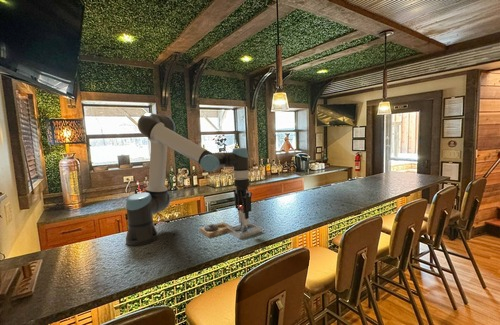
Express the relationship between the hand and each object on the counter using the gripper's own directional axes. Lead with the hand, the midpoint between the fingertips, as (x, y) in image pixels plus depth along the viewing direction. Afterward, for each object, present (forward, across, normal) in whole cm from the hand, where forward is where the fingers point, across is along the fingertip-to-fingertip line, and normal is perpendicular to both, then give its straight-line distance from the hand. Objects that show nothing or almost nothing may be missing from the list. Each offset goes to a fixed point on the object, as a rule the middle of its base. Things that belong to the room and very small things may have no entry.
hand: (243, 223), depth 128 cm
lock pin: (+4, 0, 0) cm, 4 cm away
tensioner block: (+6, +12, +10) cm, 16 cm away
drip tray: (+6, 0, 0) cm, 6 cm away
